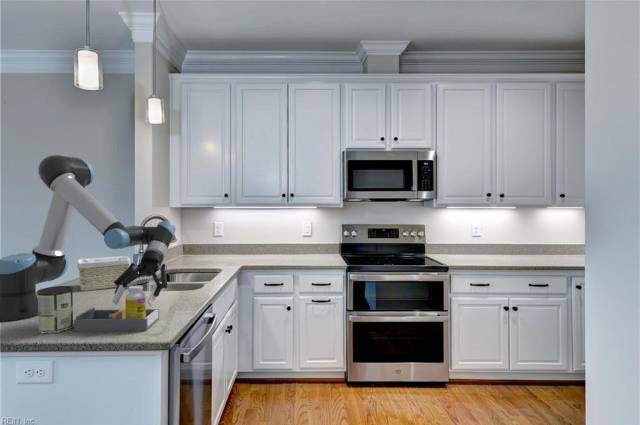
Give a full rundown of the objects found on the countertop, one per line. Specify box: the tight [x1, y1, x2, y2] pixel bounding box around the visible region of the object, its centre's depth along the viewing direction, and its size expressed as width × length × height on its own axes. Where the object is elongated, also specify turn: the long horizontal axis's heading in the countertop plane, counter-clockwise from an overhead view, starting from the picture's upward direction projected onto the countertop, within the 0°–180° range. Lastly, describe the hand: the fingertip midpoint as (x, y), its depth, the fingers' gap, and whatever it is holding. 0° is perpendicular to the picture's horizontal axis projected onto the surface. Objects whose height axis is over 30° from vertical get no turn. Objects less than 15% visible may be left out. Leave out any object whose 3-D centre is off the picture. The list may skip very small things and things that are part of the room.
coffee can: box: [36, 285, 74, 334], centre depth 136 cm, size 10×10×14 cm
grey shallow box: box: [73, 307, 160, 333], centre depth 141 cm, size 24×13×5 cm, turn 94°
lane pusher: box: [109, 306, 126, 319], centre depth 140 cm, size 4×10×4 cm, turn 4°
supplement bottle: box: [125, 285, 147, 319], centre depth 141 cm, size 7×7×13 cm
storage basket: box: [76, 255, 131, 292], centre depth 204 cm, size 24×16×15 cm
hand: (132, 303), depth 138 cm, fingers open, 12 cm apart
